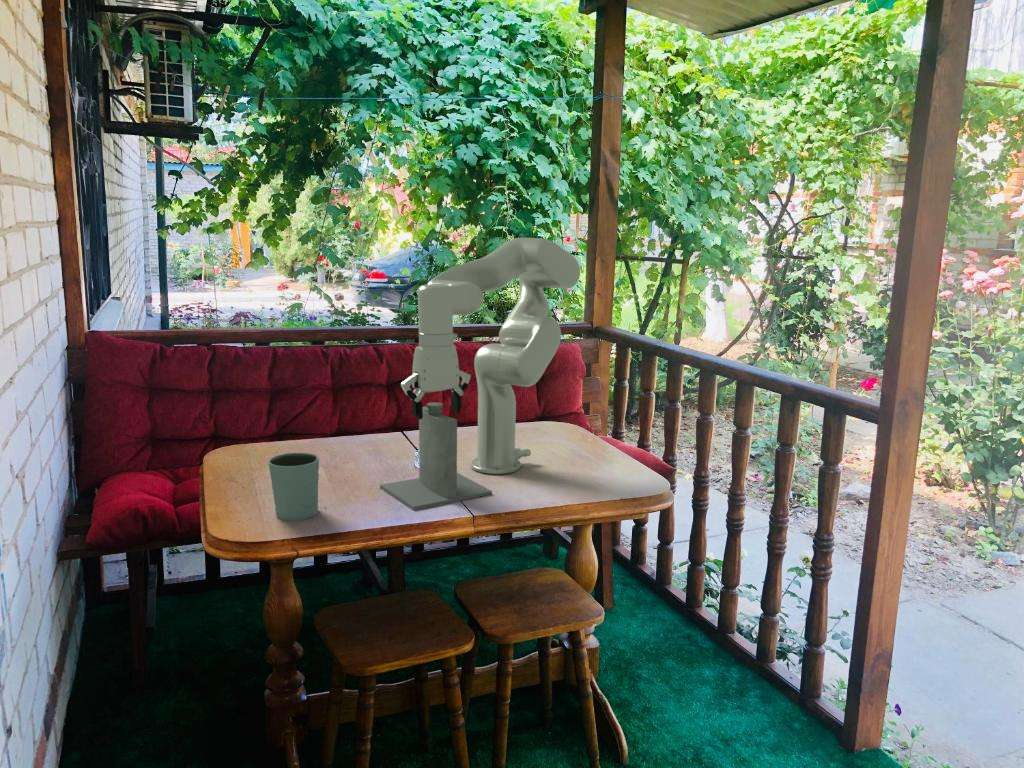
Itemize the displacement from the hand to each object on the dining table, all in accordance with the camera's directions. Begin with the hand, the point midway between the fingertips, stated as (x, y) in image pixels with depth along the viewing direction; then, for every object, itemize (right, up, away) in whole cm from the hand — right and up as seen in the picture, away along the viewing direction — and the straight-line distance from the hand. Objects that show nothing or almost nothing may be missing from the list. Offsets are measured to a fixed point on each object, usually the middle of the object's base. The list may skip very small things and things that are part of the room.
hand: (437, 414), depth 179 cm
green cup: (-29, -21, -12) cm, 37 cm away
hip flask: (-1, -17, +3) cm, 17 cm away
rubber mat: (-1, -18, +3) cm, 18 cm away
